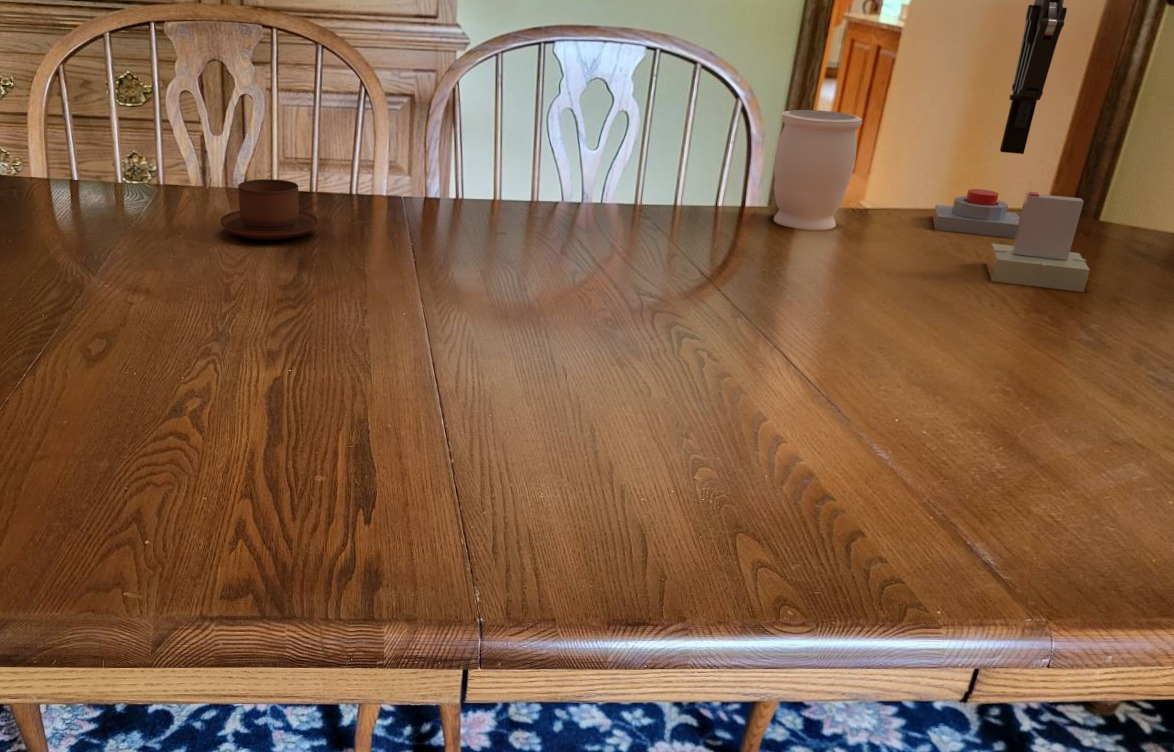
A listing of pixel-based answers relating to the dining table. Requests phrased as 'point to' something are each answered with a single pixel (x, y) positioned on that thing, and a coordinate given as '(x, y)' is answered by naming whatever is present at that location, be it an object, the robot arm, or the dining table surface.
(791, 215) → the jar
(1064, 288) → the base
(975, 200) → the button
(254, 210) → the cup and saucer
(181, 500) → the dining table surface
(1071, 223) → the grey flat slab
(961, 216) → the button box
